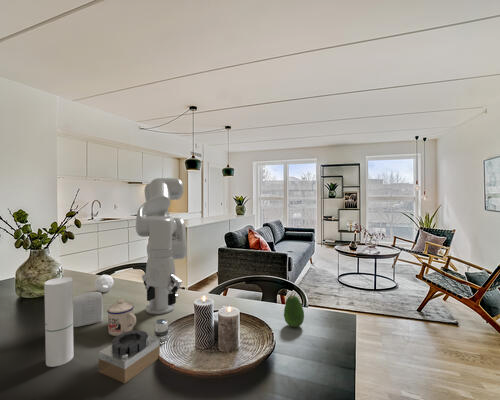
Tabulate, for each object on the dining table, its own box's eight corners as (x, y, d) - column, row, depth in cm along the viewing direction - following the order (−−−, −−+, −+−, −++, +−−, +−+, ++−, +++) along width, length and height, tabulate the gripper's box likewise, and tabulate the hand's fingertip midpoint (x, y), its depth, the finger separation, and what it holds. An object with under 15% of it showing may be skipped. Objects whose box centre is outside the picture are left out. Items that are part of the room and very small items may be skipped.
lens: (161, 336, 99) (161, 317, 99) (171, 339, 97) (170, 319, 97) (151, 342, 95) (151, 322, 95) (161, 346, 93) (161, 325, 93)
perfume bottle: (91, 286, 145) (92, 296, 135) (97, 270, 146) (99, 279, 136) (109, 288, 150) (111, 298, 140) (114, 272, 150) (117, 281, 140)
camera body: (135, 348, 91) (134, 325, 91) (159, 357, 86) (159, 333, 86) (98, 371, 79) (98, 345, 79) (124, 383, 75) (124, 355, 74)
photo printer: (102, 317, 114) (102, 288, 113) (103, 322, 110) (103, 291, 110) (73, 324, 108) (72, 293, 108) (73, 329, 104) (72, 297, 104)
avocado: (285, 320, 112) (285, 291, 111) (305, 323, 109) (305, 293, 109) (282, 329, 104) (282, 299, 104) (302, 333, 102) (302, 301, 101)
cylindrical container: (69, 350, 90) (67, 275, 90) (77, 358, 86) (75, 280, 85) (42, 360, 85) (41, 281, 84) (49, 369, 80) (48, 286, 80)
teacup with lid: (102, 333, 101) (101, 302, 101) (122, 322, 109) (122, 294, 109) (125, 340, 96) (124, 308, 96) (144, 328, 104) (144, 299, 104)
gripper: (134, 253, 95) (134, 301, 95) (172, 257, 88) (172, 310, 88) (150, 249, 102) (151, 294, 102) (187, 253, 94) (187, 302, 94)
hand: (161, 301), depth 95 cm, fingers open, 9 cm apart
